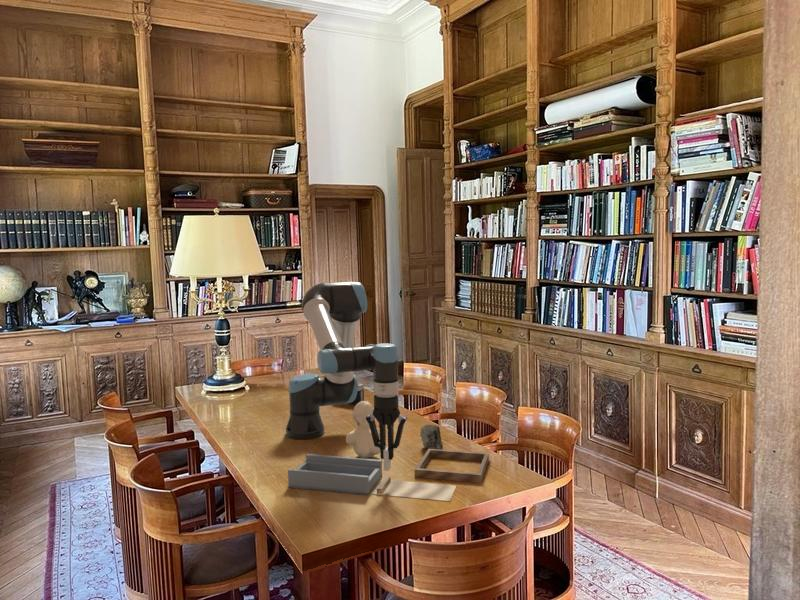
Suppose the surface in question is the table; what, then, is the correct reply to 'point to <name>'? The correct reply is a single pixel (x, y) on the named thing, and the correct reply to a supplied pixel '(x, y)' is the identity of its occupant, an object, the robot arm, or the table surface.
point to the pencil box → (336, 474)
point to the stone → (431, 437)
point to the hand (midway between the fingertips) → (387, 469)
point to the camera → (359, 395)
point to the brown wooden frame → (452, 474)
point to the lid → (413, 490)
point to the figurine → (362, 432)
